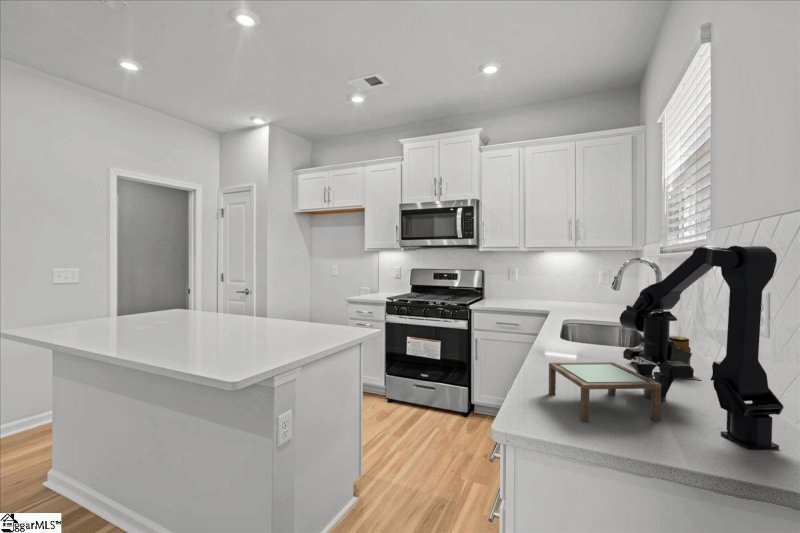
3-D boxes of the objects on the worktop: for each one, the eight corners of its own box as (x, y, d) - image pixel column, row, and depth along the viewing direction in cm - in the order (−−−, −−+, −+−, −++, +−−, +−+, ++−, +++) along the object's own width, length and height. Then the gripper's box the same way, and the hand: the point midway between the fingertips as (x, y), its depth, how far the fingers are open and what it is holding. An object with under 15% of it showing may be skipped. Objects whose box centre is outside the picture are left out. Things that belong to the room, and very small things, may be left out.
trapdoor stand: (660, 421, 87) (661, 384, 86) (583, 422, 86) (583, 385, 86) (612, 392, 105) (613, 362, 104) (548, 393, 104) (549, 362, 104)
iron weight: (670, 401, 99) (671, 380, 98) (652, 401, 98) (652, 380, 98) (657, 394, 104) (657, 374, 103) (639, 394, 103) (639, 374, 103)
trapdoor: (646, 385, 88) (646, 381, 88) (587, 386, 88) (587, 382, 88) (610, 367, 102) (610, 364, 102) (559, 368, 102) (559, 364, 102)
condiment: (662, 370, 125) (663, 334, 125) (694, 374, 122) (695, 336, 121) (668, 377, 118) (669, 339, 118) (701, 381, 115) (702, 341, 115)
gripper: (716, 343, 92) (714, 407, 92) (659, 328, 110) (658, 382, 111) (671, 343, 91) (670, 408, 92) (622, 328, 110) (621, 382, 110)
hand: (654, 393), depth 101 cm, fingers open, 5 cm apart
